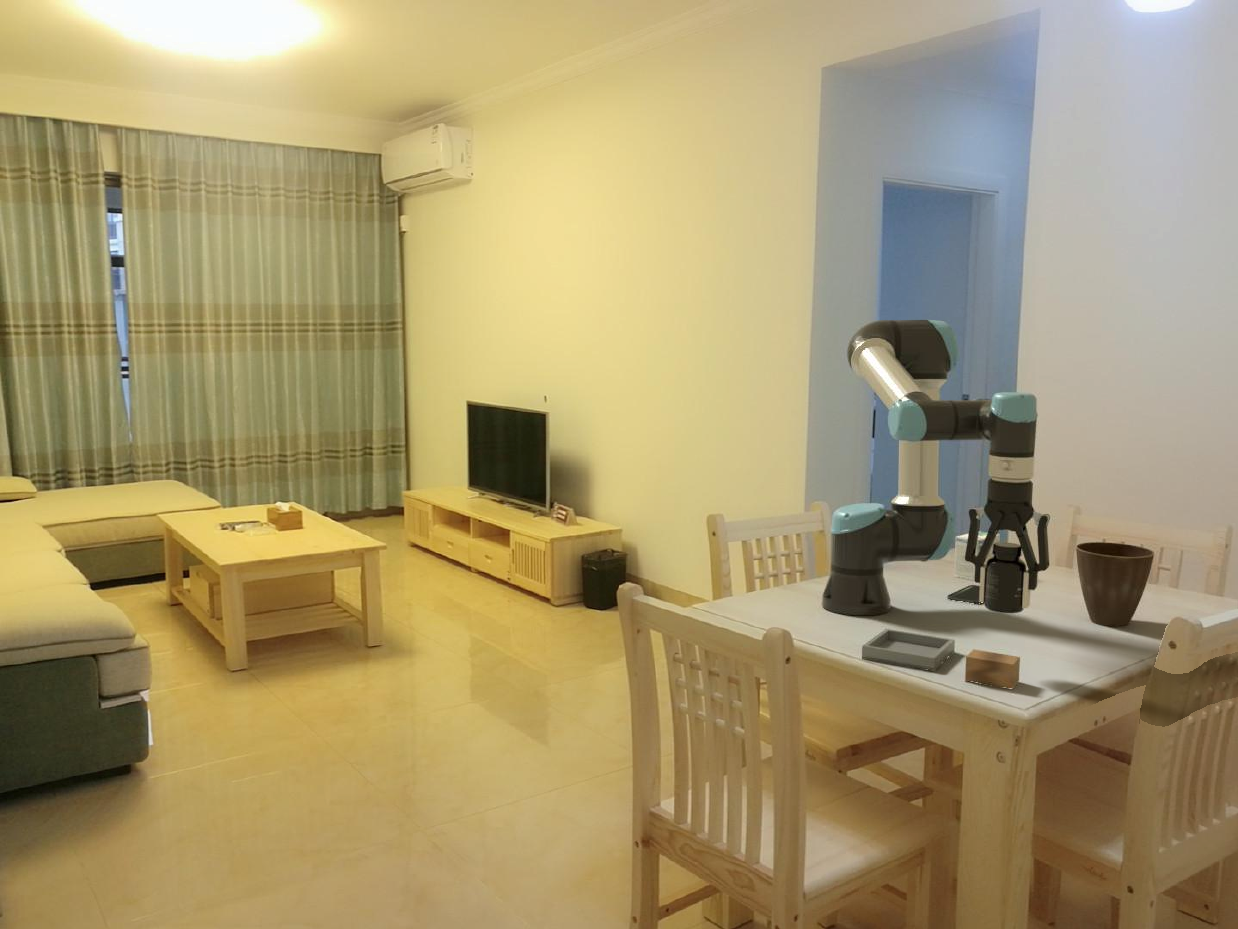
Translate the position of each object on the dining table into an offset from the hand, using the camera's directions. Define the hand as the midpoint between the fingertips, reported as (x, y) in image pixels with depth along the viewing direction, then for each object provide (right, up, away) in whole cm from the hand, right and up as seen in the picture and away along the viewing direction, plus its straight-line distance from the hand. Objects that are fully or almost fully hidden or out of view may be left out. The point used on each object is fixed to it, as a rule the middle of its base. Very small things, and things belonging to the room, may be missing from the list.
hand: (1004, 603), depth 181 cm
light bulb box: (+22, -4, +74) cm, 77 cm away
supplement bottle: (0, -1, 0) cm, 1 cm away
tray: (-15, -11, +10) cm, 21 cm away
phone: (+14, -6, +54) cm, 56 cm away
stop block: (-4, -13, -5) cm, 15 cm away
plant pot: (+35, -9, +32) cm, 48 cm away
